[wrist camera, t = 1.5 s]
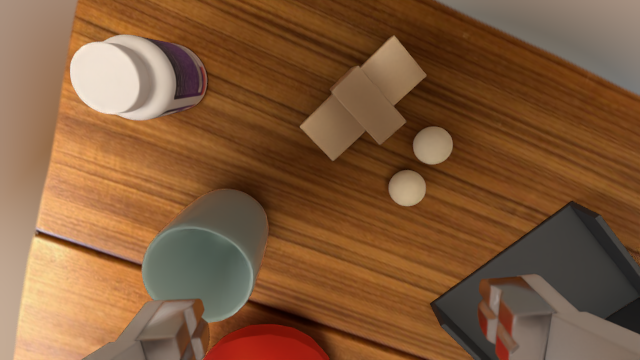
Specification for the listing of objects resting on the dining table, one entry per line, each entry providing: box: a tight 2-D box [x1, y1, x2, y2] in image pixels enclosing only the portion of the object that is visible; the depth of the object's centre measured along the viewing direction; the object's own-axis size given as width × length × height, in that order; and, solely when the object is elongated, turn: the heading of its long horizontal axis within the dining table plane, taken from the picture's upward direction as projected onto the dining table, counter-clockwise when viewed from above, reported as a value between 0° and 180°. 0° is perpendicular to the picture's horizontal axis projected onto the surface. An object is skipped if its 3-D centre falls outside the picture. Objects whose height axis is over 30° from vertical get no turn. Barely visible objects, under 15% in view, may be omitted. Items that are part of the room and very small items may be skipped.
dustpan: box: [430, 201, 640, 360], centre depth 34 cm, size 26×17×3 cm, turn 44°
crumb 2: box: [413, 127, 453, 164], centre depth 28 cm, size 3×3×3 cm
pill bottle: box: [70, 35, 207, 120], centre depth 23 cm, size 5×5×10 cm
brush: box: [300, 36, 427, 161], centre depth 25 cm, size 10×5×7 cm, turn 134°
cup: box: [142, 189, 269, 322], centre depth 27 cm, size 8×8×10 cm
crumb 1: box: [389, 170, 426, 206], centre depth 29 cm, size 3×3×3 cm
